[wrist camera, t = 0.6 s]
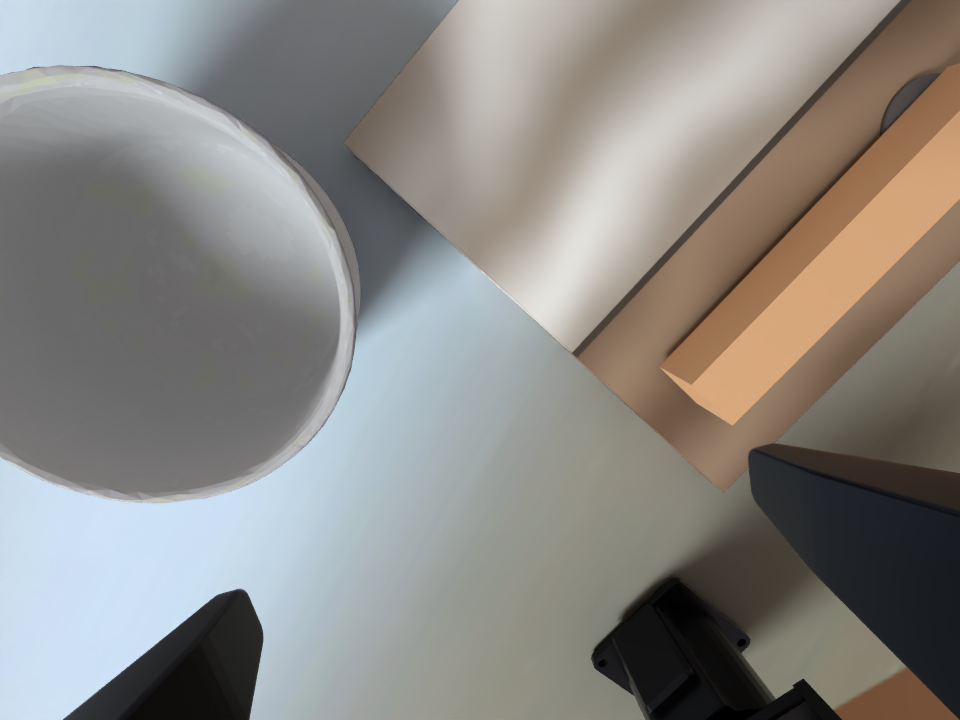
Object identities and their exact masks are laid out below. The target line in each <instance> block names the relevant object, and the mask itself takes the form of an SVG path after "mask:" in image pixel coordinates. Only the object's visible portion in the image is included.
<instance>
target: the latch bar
mask: <svg viewBox="0 0 960 720" xmlns="http://www.w3.org/2000/svg"><path fill="white" fill-rule="evenodd" d="M959 199H960V63H959V64H956V65H953V66H949V67H947V68H946V69H945V70H944V71H943V72H942V74H941V75H940V76H939V77H938V78H937V79H936V80H935V81H934V82H933V83H932V84H931V85H930V86H929V87H928V88H927V89H926V90H925V91H924V92H923V93H922V94H921V95H920V96H919V97H918V98H917V99H916V101H915V102H914V103H913V104H912V105H911V106H910V107H909V108H908V109H907V110H906V111H905V112H904V113H903V114H902V115H901V116H900V117H899V118H898V119H897V120H896V121H895V122H894V123H893V124H892V125H891V127H890V128H889V129H888V130H887V131H886V132H885V133H884V134H883V135H882V136H881V137H880V138H879V139H878V140H877V141H876V142H875V143H874V144H873V145H872V146H871V147H870V148H869V149H868V150H867V151H866V152H865V154H864V155H863V156H862V157H861V158H860V159H859V160H858V161H857V162H856V163H855V164H854V165H853V166H852V167H851V168H850V169H849V170H848V171H847V172H846V173H845V174H844V175H843V176H842V177H841V178H840V180H839V181H838V182H837V183H836V184H835V185H834V186H833V187H832V188H831V189H830V190H829V191H828V192H827V193H826V194H825V195H824V196H823V197H822V198H821V199H820V200H819V201H818V202H817V203H816V204H815V205H814V207H813V208H812V209H811V210H810V211H809V212H808V213H807V214H806V215H805V216H804V217H803V218H802V219H801V220H800V221H799V222H798V223H797V224H796V225H795V226H794V227H793V228H792V229H791V230H790V231H789V233H788V234H787V235H786V236H785V237H784V238H783V239H782V240H781V241H780V242H779V243H778V244H777V245H776V246H775V247H774V248H773V249H772V250H771V251H770V252H769V253H768V254H767V255H766V256H765V257H764V258H763V260H762V261H761V262H760V263H759V264H758V265H757V266H756V267H755V268H754V269H753V270H752V271H751V272H750V273H749V274H748V275H747V276H746V277H745V278H744V279H743V280H742V281H741V282H740V283H739V284H738V285H737V287H736V288H735V289H734V290H733V291H732V292H731V293H730V294H729V295H728V296H727V297H726V298H725V299H724V300H723V301H722V302H721V303H720V304H719V305H718V306H717V307H716V308H715V309H714V310H713V311H712V313H711V314H710V315H709V316H708V317H707V318H706V319H705V320H704V321H703V322H702V323H701V324H700V325H699V326H698V327H697V328H696V329H695V330H694V331H693V332H692V333H691V334H690V335H689V336H688V337H687V338H686V340H685V341H684V342H683V343H682V344H681V345H680V346H679V347H678V348H677V349H676V350H675V351H674V352H673V353H672V354H671V355H670V356H669V357H668V358H667V359H666V360H665V361H664V362H663V363H662V364H661V366H660V368H661V369H662V370H663V371H664V372H665V373H666V374H667V375H668V376H669V377H670V378H671V379H672V380H673V381H674V382H675V383H676V384H677V385H678V386H679V387H680V388H681V389H682V390H683V391H684V392H686V393H687V394H688V395H689V396H690V397H691V398H692V399H693V400H694V401H695V402H696V403H697V404H698V405H700V406H702V407H703V408H705V409H707V410H708V411H710V412H711V413H713V414H715V415H716V416H718V417H719V418H721V419H723V420H724V421H726V422H728V423H729V424H731V425H732V426H733V425H734V424H735V423H736V422H737V421H738V420H739V419H740V418H741V417H742V416H743V415H744V414H745V413H746V412H747V411H748V410H749V409H750V408H751V407H752V406H753V405H754V404H755V403H756V402H757V401H758V400H759V399H760V398H761V397H762V396H763V395H764V394H765V393H766V392H767V391H768V390H769V389H770V388H771V387H772V386H773V385H774V384H775V383H776V382H777V381H778V380H779V379H780V378H781V377H782V376H783V375H784V374H785V373H786V372H787V371H788V370H789V369H790V368H791V367H792V366H793V365H794V364H795V363H796V362H797V361H798V360H799V359H800V358H801V357H802V356H803V355H804V354H805V353H806V352H807V351H808V350H809V349H810V348H811V347H812V346H813V345H814V344H815V343H816V342H817V341H818V340H819V339H820V338H821V337H822V336H823V335H824V334H825V333H826V332H827V331H828V330H829V329H830V328H831V327H832V326H833V325H834V324H835V323H836V322H837V321H838V320H839V319H840V318H841V317H842V316H843V315H844V314H845V313H846V312H847V311H848V310H849V309H850V308H851V307H852V306H853V305H854V304H855V303H856V302H857V301H858V300H859V299H860V298H861V297H862V296H863V295H864V294H865V293H866V292H867V291H868V290H869V289H870V288H871V287H872V286H873V285H874V284H875V283H876V282H877V281H878V280H879V279H880V278H881V277H882V276H883V275H884V274H885V273H886V272H887V271H888V270H889V269H890V268H891V267H892V266H893V265H894V264H895V263H896V262H897V261H898V260H899V259H900V258H901V257H902V256H903V255H904V254H905V253H906V252H907V251H908V250H909V249H910V248H911V247H912V246H913V245H914V244H915V243H916V242H917V241H918V240H919V239H920V238H921V237H922V236H923V235H924V234H925V233H926V232H927V231H928V230H929V229H930V228H931V227H932V226H933V225H934V224H935V223H936V222H937V221H938V220H939V219H940V218H941V217H942V216H943V215H944V214H945V213H946V212H947V211H948V210H949V209H950V208H951V207H952V206H953V205H954V204H955V203H956V202H957V201H958V200H959Z"/></svg>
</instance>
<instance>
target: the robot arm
mask: <svg viewBox="0 0 960 720" xmlns="http://www.w3.org/2000/svg"><path fill="white" fill-rule="evenodd" d="M748 465H749V475H750V484H751V492H752V495H753V497H754V500H755V501H756V503H757V504H758V506H759V507H760V508H761V509H762V511H763V512H764V513H765V514H766V516H767V517H768V518H769V519H770V520H771V522H772V523H773V524H774V525H775V527H776V528H777V529H778V530H779V531H780V533H781V534H782V535H783V536H784V537H785V539H786V540H787V541H788V542H789V544H790V545H791V546H792V547H793V548H794V550H795V551H796V552H797V553H798V554H799V556H800V557H801V558H802V559H803V561H804V562H805V563H806V564H807V565H808V566H809V568H810V569H811V570H812V571H813V572H814V573H815V574H816V575H817V577H818V578H819V579H820V580H821V581H822V582H823V583H824V584H825V585H826V586H827V587H828V588H829V589H830V590H831V591H832V592H833V593H834V594H835V595H836V596H837V597H838V598H839V599H840V600H841V601H842V602H843V603H844V604H845V605H846V606H847V607H848V608H849V609H850V610H851V611H852V612H853V613H854V614H855V615H856V616H857V617H858V618H859V619H860V620H861V621H862V622H863V623H864V624H865V625H866V626H867V627H868V628H869V629H870V630H871V631H872V632H873V633H874V634H875V635H876V636H877V637H878V638H879V639H880V640H881V641H882V642H883V643H884V644H885V645H886V646H887V647H888V648H889V649H890V650H891V651H892V652H893V653H894V654H895V655H896V656H897V657H898V658H899V659H900V660H901V661H902V662H903V663H904V664H905V665H906V666H907V667H908V668H909V669H910V670H911V671H912V672H913V673H914V674H915V675H916V676H917V677H918V678H919V679H920V680H921V681H922V682H923V683H924V684H925V685H926V686H927V687H928V689H929V690H931V691H932V692H933V694H935V696H937V698H939V699H940V701H941V702H942V703H943V704H944V705H945V706H946V707H947V708H948V709H949V710H950V711H951V712H952V713H953V714H954V715H955V716H957V718H959V720H960V473H955V472H949V471H943V470H936V469H930V468H924V467H918V466H912V465H905V464H899V463H893V462H887V461H881V460H875V459H868V458H862V457H856V456H850V455H844V454H838V453H831V452H825V451H819V450H813V449H807V448H800V447H794V446H788V445H782V444H776V443H771V444H766V445H762V446H759V447H755V448H752V449H751V450H750V451H749V453H748ZM676 587H677V589H675V588H676ZM674 589H675V590H674ZM749 644H750V638H749V637H748V636H747V634H746V633H745V632H744V631H743V630H742V629H741V628H739V627H738V626H737V625H736V624H735V623H733V622H732V621H731V620H730V619H728V618H727V617H726V616H725V615H724V614H722V613H721V612H720V611H719V610H717V609H716V608H715V607H714V606H712V605H711V604H710V603H709V602H708V601H706V600H705V599H704V598H703V597H701V596H700V595H699V594H698V593H697V592H695V591H694V590H693V589H692V588H690V587H689V586H688V585H687V584H685V583H684V582H683V581H682V580H681V579H679V578H672V579H670V580H668V581H667V582H666V583H665V584H664V585H663V586H662V587H661V588H660V589H659V590H658V591H657V592H656V593H655V594H654V595H653V596H652V597H651V598H650V599H649V600H648V601H646V602H645V603H644V604H643V605H642V606H641V607H640V608H639V609H638V610H637V611H636V612H635V613H634V614H633V615H632V616H631V617H630V618H629V619H628V620H627V621H626V622H625V623H624V624H623V625H622V626H621V627H620V628H619V629H618V630H617V631H616V632H615V633H613V634H612V635H611V636H610V637H609V638H608V639H607V640H606V641H605V642H604V643H603V644H602V645H601V646H600V647H599V648H598V649H597V650H596V651H595V652H594V653H593V654H592V657H591V660H592V663H593V665H594V668H595V669H596V670H598V671H599V672H600V673H602V674H603V675H605V676H606V677H608V678H609V679H611V680H612V681H613V682H615V683H616V684H618V685H619V686H621V687H622V688H624V689H625V690H626V691H628V692H629V693H631V694H632V695H634V696H635V698H636V700H637V702H638V705H639V707H640V709H641V711H642V713H643V715H644V717H645V720H842V719H841V718H840V717H839V716H838V715H837V714H836V713H835V712H834V711H833V710H832V709H831V708H830V706H829V705H828V704H827V703H826V702H825V701H824V700H823V699H822V698H821V697H820V696H819V695H818V694H817V693H816V692H815V690H814V689H813V688H812V687H811V686H810V685H809V684H808V683H807V682H806V681H805V680H804V679H802V680H800V681H799V682H797V683H795V684H794V685H793V687H794V688H793V689H791V690H790V691H788V692H787V693H785V694H783V695H782V696H780V697H779V698H777V699H776V698H775V697H774V696H773V694H772V693H771V692H770V690H769V689H768V688H767V686H766V685H765V684H764V683H763V681H762V680H761V679H760V677H759V676H758V675H757V673H756V672H755V671H754V670H753V668H752V667H751V666H750V664H749V663H748V662H747V660H746V659H745V658H744V656H743V655H742V654H741V652H743V651H744V650H745V649H746V648H747V647H748V646H749ZM262 646H263V630H262V626H261V624H260V621H259V619H258V616H257V614H256V612H255V609H254V607H253V605H252V602H251V600H250V598H249V596H248V594H247V592H246V591H245V590H242V589H236V590H233V591H229V592H225V593H222V594H219V595H217V596H215V597H214V598H213V599H211V600H210V601H209V602H208V603H206V604H205V605H204V606H203V607H201V608H200V609H199V610H198V611H197V612H195V613H194V614H193V615H192V616H190V617H189V618H188V619H187V620H185V621H184V622H183V623H182V624H180V625H179V626H178V627H177V628H176V629H174V630H173V631H172V632H171V633H169V634H168V635H167V636H166V637H164V638H163V639H162V640H161V641H159V642H158V643H157V644H156V645H155V646H153V647H152V648H151V649H150V650H148V651H147V652H146V653H145V654H143V655H142V656H141V657H140V658H138V659H137V660H136V661H135V662H133V663H132V664H131V665H130V666H129V667H127V668H126V669H125V670H124V671H122V672H121V673H120V674H119V675H117V676H116V677H115V678H114V679H112V680H111V681H110V682H109V683H108V684H106V685H105V686H104V687H103V688H101V689H100V690H99V691H98V692H96V693H95V694H94V695H93V696H91V697H90V698H89V699H88V700H87V701H85V702H84V703H83V704H82V705H80V706H79V707H78V708H77V709H75V710H74V711H73V712H72V713H70V714H69V715H68V716H67V717H65V718H64V719H63V720H249V719H250V713H251V707H252V702H253V696H254V691H255V685H256V680H257V674H258V669H259V663H260V657H261V652H262ZM600 660H601V661H600Z"/></svg>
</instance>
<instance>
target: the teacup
mask: <svg viewBox="0 0 960 720" xmlns="http://www.w3.org/2000/svg"><path fill="white" fill-rule="evenodd" d="M360 299H361V284H360V274H359V267H358V262H357V258H356V253H355V249H354V246H353V243H352V241H351V238H350V236H349V233H348V231H347V228H346V226H345V224H344V222H343V220H342V218H341V216H340V214H339V212H338V211H337V209H336V208H335V206H334V204H333V203H332V201H331V200H330V198H329V197H328V196H327V194H326V193H325V192H324V190H323V189H322V188H321V186H320V185H319V184H318V183H317V182H316V181H315V180H314V178H313V177H312V176H311V175H310V174H309V173H308V172H307V171H306V170H305V169H304V168H303V167H302V166H300V165H299V164H298V163H297V162H296V161H295V160H294V159H292V158H291V157H290V156H289V155H288V154H286V153H285V152H284V151H282V150H281V149H280V148H278V147H277V146H276V145H274V144H273V143H271V142H270V141H269V140H268V139H266V138H265V137H264V136H263V135H261V134H260V133H259V132H258V131H257V130H255V129H254V128H252V127H251V126H250V125H248V124H247V123H245V122H244V121H242V120H241V119H239V118H238V117H236V116H234V115H233V114H231V113H229V112H228V111H226V110H224V109H223V108H221V107H219V106H217V105H216V104H214V103H212V102H210V101H208V100H206V99H204V98H202V97H199V96H197V95H195V94H193V93H191V92H189V91H186V90H184V89H181V88H179V87H176V86H174V85H171V84H168V83H166V82H163V81H160V80H157V79H153V78H150V77H146V76H143V75H138V74H133V73H130V72H126V71H122V70H115V69H106V68H101V67H97V66H76V67H74V66H62V65H59V66H51V67H33V68H30V69H27V70H24V71H19V72H13V73H8V74H4V75H0V457H1V458H2V459H4V460H5V461H7V462H8V463H10V464H12V465H14V466H15V467H17V468H19V469H21V470H23V471H24V472H26V473H28V474H30V475H32V476H34V477H36V478H38V479H41V480H43V481H46V482H48V483H51V484H53V485H56V486H59V487H62V488H65V489H69V490H72V491H75V492H79V493H82V494H86V495H89V496H94V497H99V498H104V499H111V500H118V501H126V502H135V503H167V502H178V501H186V500H195V499H204V498H209V497H212V496H216V495H219V494H223V493H226V492H230V491H233V490H236V489H238V488H241V487H244V486H246V485H249V484H251V483H253V482H255V481H257V480H259V479H261V478H263V477H265V476H267V475H268V474H270V473H271V472H273V471H274V470H276V469H277V468H279V467H280V466H282V465H283V464H284V463H286V462H287V461H288V460H290V459H291V458H292V457H294V456H295V455H296V454H297V453H298V452H299V451H301V450H302V449H303V448H304V447H305V446H306V445H307V444H308V443H309V442H310V441H311V440H312V438H313V437H314V436H315V435H316V434H317V433H318V431H319V430H320V429H321V428H322V427H323V426H324V424H325V423H326V421H327V419H328V418H329V416H330V415H331V413H332V411H333V410H334V408H335V406H336V404H337V402H338V400H339V398H340V396H341V394H342V392H343V390H344V388H345V385H346V382H347V379H348V376H349V373H350V371H351V366H352V360H353V355H354V348H355V339H356V330H357V325H358V318H359V311H360Z"/></svg>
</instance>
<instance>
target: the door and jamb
mask: <svg viewBox="0 0 960 720" xmlns="http://www.w3.org/2000/svg"><path fill="white" fill-rule="evenodd" d="M959 63H960V0H459V1H458V2H457V3H456V4H455V6H454V7H453V8H452V9H451V10H450V12H449V13H448V14H447V15H446V17H445V18H444V19H443V20H442V22H441V23H440V24H439V25H438V26H437V28H436V29H435V30H434V31H433V33H432V34H431V35H430V36H429V38H428V39H427V40H426V41H425V42H424V44H423V45H422V46H421V47H420V49H419V50H418V51H417V52H416V54H415V55H414V56H413V57H412V58H411V60H410V61H409V62H408V63H407V65H406V66H405V67H404V68H403V70H402V71H401V72H400V73H399V74H398V76H397V77H396V78H395V79H394V81H393V82H392V83H391V84H390V86H389V87H388V88H387V89H386V90H385V92H384V93H383V94H382V95H381V97H380V98H379V99H378V100H377V102H376V103H375V104H374V105H373V106H372V108H371V109H370V110H369V111H368V113H367V114H366V115H365V116H364V118H363V119H362V120H361V121H360V122H359V124H358V125H357V126H356V127H355V129H354V130H353V131H352V132H351V134H350V135H349V136H348V137H347V138H346V140H345V141H344V142H343V143H344V144H345V146H346V147H347V148H348V149H349V150H350V151H351V152H352V153H353V154H354V155H355V156H356V157H357V158H359V159H360V160H361V161H362V162H363V163H364V164H365V165H366V166H367V167H368V168H369V169H371V170H372V171H373V172H374V173H375V174H376V175H377V176H378V177H379V178H380V179H381V180H383V181H384V182H385V183H386V184H387V185H388V186H389V187H390V188H391V189H392V190H393V191H394V192H396V193H397V194H398V195H399V196H400V197H401V198H402V199H403V200H404V201H405V202H406V203H408V204H409V205H410V206H411V207H412V208H413V209H414V210H415V211H416V212H417V213H418V214H420V215H421V216H422V217H423V218H424V219H425V220H426V221H427V222H428V223H429V224H430V225H432V226H433V227H434V228H435V229H436V230H437V231H438V232H439V233H440V234H441V235H442V236H443V237H445V238H446V239H447V240H448V241H449V242H450V243H451V244H452V245H453V246H454V247H455V248H457V249H458V250H459V251H460V252H461V253H462V254H463V255H464V256H465V257H466V258H467V259H469V260H470V261H471V262H472V263H473V264H474V265H475V266H476V267H477V268H478V269H479V270H480V271H482V272H483V273H484V274H485V275H486V276H487V277H488V278H489V279H490V280H491V281H492V282H494V283H495V284H496V285H497V286H498V287H499V288H500V289H501V290H502V291H503V292H504V293H506V294H507V295H508V296H509V297H510V298H511V299H512V300H513V301H514V302H515V303H516V304H517V305H519V306H520V307H521V308H522V309H523V310H524V311H525V312H526V313H527V314H528V315H529V316H531V317H532V318H533V319H534V320H535V321H536V322H537V323H538V324H539V325H540V326H541V327H543V328H544V329H545V330H546V331H547V332H548V333H549V334H550V335H551V336H552V337H553V338H555V339H556V340H557V341H558V342H559V343H560V344H561V345H562V346H563V347H564V348H565V349H566V350H568V351H569V352H570V353H571V354H572V355H573V356H574V357H575V358H576V359H577V360H578V361H580V362H581V363H582V364H583V365H584V366H585V367H586V368H587V369H588V370H589V371H590V372H592V373H593V374H594V375H595V376H596V377H597V378H598V379H599V380H600V381H601V382H602V383H603V384H605V385H606V386H607V387H608V388H609V389H610V390H611V391H612V392H613V393H614V394H615V395H617V396H618V397H619V398H620V399H621V400H622V401H623V402H624V403H625V404H626V405H627V406H629V407H630V408H631V409H632V410H633V411H634V412H635V413H636V414H637V415H638V416H639V417H640V418H642V419H643V420H644V421H645V422H646V423H647V424H648V425H649V426H650V427H651V428H652V429H654V430H655V431H656V432H657V433H658V434H659V435H660V436H661V437H662V438H663V439H664V440H666V441H667V442H668V443H669V444H670V445H671V446H672V447H673V448H674V449H675V450H676V451H678V452H679V453H680V454H681V455H682V456H683V457H684V458H685V459H686V460H687V461H688V462H689V463H691V464H692V465H693V466H694V467H695V468H696V469H697V470H698V471H699V472H700V473H701V474H703V475H704V476H705V477H706V478H707V479H708V480H709V481H711V482H712V483H713V484H714V485H715V486H716V487H718V488H719V489H720V490H721V491H722V492H724V491H725V490H727V489H728V488H729V487H730V486H731V485H732V484H733V483H734V482H735V481H736V480H737V479H738V478H739V477H740V476H741V475H742V474H743V473H744V472H745V471H746V470H747V469H748V468H749V465H748V453H749V451H750V450H751V449H752V448H755V447H759V446H762V445H766V444H771V443H774V442H775V441H777V440H778V439H779V438H780V437H781V436H782V435H783V434H784V433H785V432H786V431H787V430H788V429H789V428H790V427H791V426H792V425H793V424H794V423H795V422H796V421H797V420H798V419H799V418H800V417H801V416H802V415H803V414H804V413H805V412H806V411H807V410H808V409H809V408H810V407H811V406H812V405H813V404H814V403H815V402H816V401H817V400H818V399H819V398H820V397H821V396H822V395H823V394H824V393H825V392H826V391H828V390H829V389H830V388H831V387H832V386H833V385H834V384H835V383H836V382H837V381H838V380H839V379H840V378H841V377H842V376H843V375H844V374H845V373H846V372H847V371H848V370H849V369H850V368H851V367H852V366H853V365H854V364H855V363H856V362H857V361H858V360H859V359H860V358H861V357H862V356H863V355H864V354H865V353H866V352H867V351H868V350H869V349H870V348H871V347H872V346H873V345H874V344H875V343H876V342H878V341H879V340H880V339H881V338H882V337H883V336H884V335H885V334H886V333H887V332H888V331H889V330H890V329H891V328H892V327H893V326H894V325H895V324H896V323H897V322H898V321H899V320H900V319H901V318H902V317H903V316H904V315H905V314H906V313H907V312H908V311H909V310H910V309H911V308H912V307H913V306H914V305H915V304H916V303H917V302H918V301H919V300H920V299H921V298H922V297H923V296H924V295H925V294H926V293H927V292H929V291H930V290H931V289H932V288H933V287H934V286H935V285H936V284H937V283H938V282H939V281H940V280H941V279H942V278H943V277H944V276H945V275H946V274H947V273H948V272H949V271H950V270H951V269H952V268H953V267H954V266H955V265H956V264H957V263H958V262H959V261H960V199H959V200H958V201H957V202H956V203H955V204H954V205H953V206H952V207H951V208H950V209H949V210H948V211H947V212H946V213H945V214H944V215H943V216H942V217H941V218H940V219H939V220H938V221H937V222H936V223H935V224H934V225H933V226H932V227H931V228H930V229H929V230H928V231H927V232H926V233H925V234H924V235H923V236H922V237H921V238H920V239H919V240H918V241H917V242H916V243H915V244H914V245H913V246H912V247H911V248H910V249H909V250H908V251H907V252H906V253H905V254H904V255H903V256H902V257H901V258H900V259H899V260H898V261H897V262H896V263H895V264H894V265H893V266H892V267H891V268H890V269H889V270H888V271H887V272H886V273H885V274H884V275H883V276H882V277H881V278H880V279H879V280H878V281H877V282H876V283H875V284H874V285H873V286H872V287H871V288H870V289H869V290H868V291H867V292H866V293H865V294H864V295H863V296H862V297H861V298H860V299H859V300H858V301H857V302H856V303H855V304H854V305H853V306H852V307H851V308H850V309H849V310H848V311H847V312H846V313H845V314H844V315H843V316H842V317H841V318H840V319H839V320H838V321H837V322H836V323H835V324H834V325H833V326H832V327H831V328H830V329H829V330H828V331H827V332H826V333H825V334H824V335H823V336H822V337H821V338H820V339H819V340H818V341H817V342H816V343H815V344H814V345H813V346H812V347H811V348H810V349H809V350H808V351H807V352H806V353H805V354H804V355H803V356H802V357H801V358H800V359H799V360H798V361H797V362H796V363H795V364H794V365H793V366H792V367H791V368H790V369H789V370H788V371H787V372H786V373H785V374H784V375H783V376H782V377H781V378H780V379H779V380H778V381H777V382H776V383H775V384H774V385H773V386H772V387H771V388H770V389H769V390H768V391H767V392H766V393H765V394H764V395H763V396H762V397H761V398H760V399H759V400H758V401H757V402H756V403H755V404H754V405H753V406H752V407H751V408H750V409H749V410H748V411H747V412H746V413H745V414H744V415H743V416H742V417H741V418H740V419H739V420H738V421H737V422H736V423H735V424H734V425H733V426H732V425H731V424H729V423H728V422H726V421H724V420H723V419H721V418H719V417H718V416H716V415H715V414H713V413H711V412H710V411H708V410H707V409H705V408H703V407H702V406H700V405H698V404H697V403H696V402H695V401H694V400H693V399H692V398H691V397H690V396H689V395H688V394H687V393H686V392H684V391H683V390H682V389H681V388H680V387H679V386H678V385H677V384H676V383H675V382H674V381H673V380H672V379H671V378H670V377H669V376H668V375H667V374H666V373H665V372H664V371H663V370H662V369H661V368H660V366H661V364H662V363H663V362H664V361H665V360H666V359H667V358H668V357H669V356H670V355H671V354H672V353H673V352H674V351H675V350H676V349H677V348H678V347H679V346H680V345H681V344H682V343H683V342H684V341H685V340H686V338H687V337H688V336H689V335H690V334H691V333H692V332H693V331H694V330H695V329H696V328H697V327H698V326H699V325H700V324H701V323H702V322H703V321H704V320H705V319H706V318H707V317H708V316H709V315H710V314H711V313H712V311H713V310H714V309H715V308H716V307H717V306H718V305H719V304H720V303H721V302H722V301H723V300H724V299H725V298H726V297H727V296H728V295H729V294H730V293H731V292H732V291H733V290H734V289H735V288H736V287H737V285H738V284H739V283H740V282H741V281H742V280H743V279H744V278H745V277H746V276H747V275H748V274H749V273H750V272H751V271H752V270H753V269H754V268H755V267H756V266H757V265H758V264H759V263H760V262H761V261H762V260H763V258H764V257H765V256H766V255H767V254H768V253H769V252H770V251H771V250H772V249H773V248H774V247H775V246H776V245H777V244H778V243H779V242H780V241H781V240H782V239H783V238H784V237H785V236H786V235H787V234H788V233H789V231H790V230H791V229H792V228H793V227H794V226H795V225H796V224H797V223H798V222H799V221H800V220H801V219H802V218H803V217H804V216H805V215H806V214H807V213H808V212H809V211H810V210H811V209H812V208H813V207H814V205H815V204H816V203H817V202H818V201H819V200H820V199H821V198H822V197H823V196H824V195H825V194H826V193H827V192H828V191H829V190H830V189H831V188H832V187H833V186H834V185H835V184H836V183H837V182H838V181H839V180H840V178H841V177H842V176H843V175H844V174H845V173H846V172H847V171H848V170H849V169H850V168H851V167H852V166H853V165H854V164H855V163H856V162H857V161H858V160H859V159H860V158H861V157H862V156H863V155H864V154H865V152H866V151H867V150H868V149H869V148H870V147H871V146H872V145H873V144H874V143H875V142H876V141H877V140H878V139H879V138H880V137H881V136H882V135H883V134H884V133H885V132H886V131H887V130H888V129H889V128H890V127H891V125H892V124H893V123H894V122H895V121H896V120H897V119H898V118H899V117H900V116H901V115H902V114H903V113H904V112H905V111H906V110H907V109H908V108H909V107H910V106H911V105H912V104H913V103H914V102H915V101H916V99H917V98H918V97H919V96H920V95H921V94H922V93H923V92H924V91H925V90H926V89H927V88H928V87H929V86H930V85H931V84H932V83H933V82H934V81H935V80H936V79H937V78H938V77H939V76H940V75H941V74H942V72H943V71H944V70H945V69H946V68H947V67H949V66H953V65H956V64H959Z"/></svg>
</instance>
